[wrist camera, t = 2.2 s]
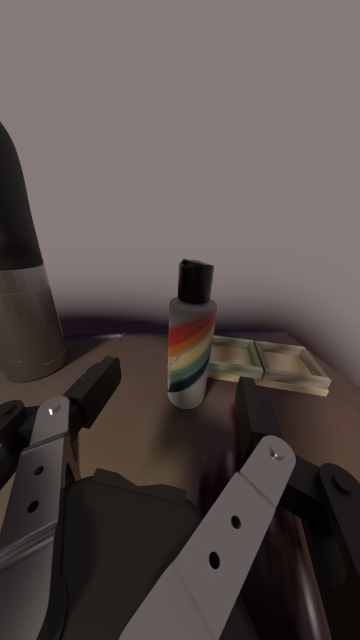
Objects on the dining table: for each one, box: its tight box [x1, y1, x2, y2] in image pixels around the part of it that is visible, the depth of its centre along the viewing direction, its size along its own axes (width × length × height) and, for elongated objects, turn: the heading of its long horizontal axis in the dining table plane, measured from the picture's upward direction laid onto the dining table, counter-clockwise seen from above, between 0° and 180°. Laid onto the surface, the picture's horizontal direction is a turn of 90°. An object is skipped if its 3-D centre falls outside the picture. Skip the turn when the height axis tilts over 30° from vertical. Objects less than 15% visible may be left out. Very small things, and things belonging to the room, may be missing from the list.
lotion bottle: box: [168, 259, 217, 409], centre depth 24 cm, size 6×6×20 cm
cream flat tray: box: [207, 335, 331, 396], centre depth 34 cm, size 20×10×3 cm, turn 80°
